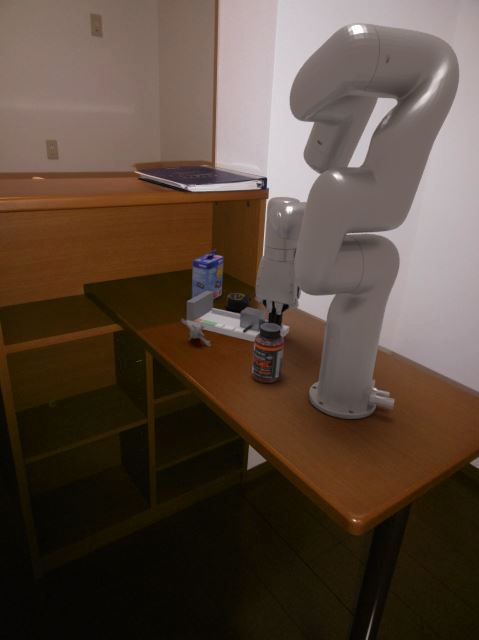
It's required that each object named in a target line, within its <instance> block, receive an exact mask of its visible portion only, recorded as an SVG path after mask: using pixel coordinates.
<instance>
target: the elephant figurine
mask: <svg viewBox="0 0 479 640" xmlns="http://www.w3.org/2000/svg"><path fill="white" fill-rule="evenodd" d="M180 322H181V323H182V324H183V325H185V326H186V327H187V328H188V329H189V335H190V337H189V338H188V340H187V341H190V340H191V339H194V340H195V339H200V340H201V341H202V342H203V343H204V344H205V345H206V346H207V347H211V345H212V343H210V342H211V340H207V339H206V338H205V334H204V333H203V332H202V331H203V330H204V329H203V328H204V327H206V326H204V327H203V325H201V324H202V323H201V324H200V325H201V326H200V325H199V326H198V327H196V326H194V325H192V326H193V327H192V326H190V325H189V324H188V323H187V318H186V319H184V318H181V319H180Z"/></svg>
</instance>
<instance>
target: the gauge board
mask: <svg viewBox="0 0 479 640" xmlns="http://www.w3.org/2000/svg"><path fill="white" fill-rule="evenodd" d="M186 319H187V323H188V324H189V325H190V326H191V327H193V326H192V325H194V326H196V327H198V326H199V325H200V324H201V323H202V324H201V325H203V327H204V326H206V327H204V328H203V330H205V331H208V332H211V333H212V332H213V333H217V334H220V335H224V336H228V337H232V338H236V339H241V340H246V341H249V342H252V343H253V342H254V341H255V337H256V336H257V335H258V334H259V333H260V330H259V331H255V330H250V329H249V330H247V331H246V332H243V330H244V329H246V328H242V327H240V313H238V312H232V311H229V310H228V311H227V310H225V309H220V308H215V307H214V299H213V292H212V291H205V292H203V293H201V294H199V295H198V296H196V297H194V298H192V297H191V299H188V300H186ZM265 323H268V319H265ZM201 325H200V326H201ZM280 328H281V330H280V335H281V336H282V337H283V338H284V337H285V336H287V334H289V332H290V326H288V325H285V324H284V323H282V324H281V326H280Z"/></svg>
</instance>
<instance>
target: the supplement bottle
mask: <svg viewBox="0 0 479 640" xmlns="http://www.w3.org/2000/svg"><path fill="white" fill-rule="evenodd" d="M280 330H281V328H280V326H279V325H277V324H273V323H265V324H262V325H261V327H260V333H259V334H258V335H257V336H256V337H255V341H254V343H253V357H252V369H251V375H252V377H253V379H255V381H258V382H259V383H264V384H272V383H276V382H278V381H280V378H281V377H282V376H281V375H282V367H283V357H284V347H285V339H284V337H282V336H281V335H280Z"/></svg>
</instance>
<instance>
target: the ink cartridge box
mask: <svg viewBox="0 0 479 640" xmlns="http://www.w3.org/2000/svg"><path fill="white" fill-rule="evenodd" d="M216 251H217V249H214V250H212V251H210V252H209V253H207V254H204V255H203V256H199V257H197V258H196V259H195V258H194V259H193V260H192V274H191V275H192V278H191V279H192V283H191V284H192V285H191V299H192V298H194V297H196V296H198V295H199V294H201V293H203V292H205V291H212V292H213V300H215V299H216V298H219V297H220V296H221V295H222V293H223V289H222V288H223V277H224V276H223V273H224V261H225V260H224V259H225V257H224V256H222V255H220V254H219V255H218V254H215V253H216Z"/></svg>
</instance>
